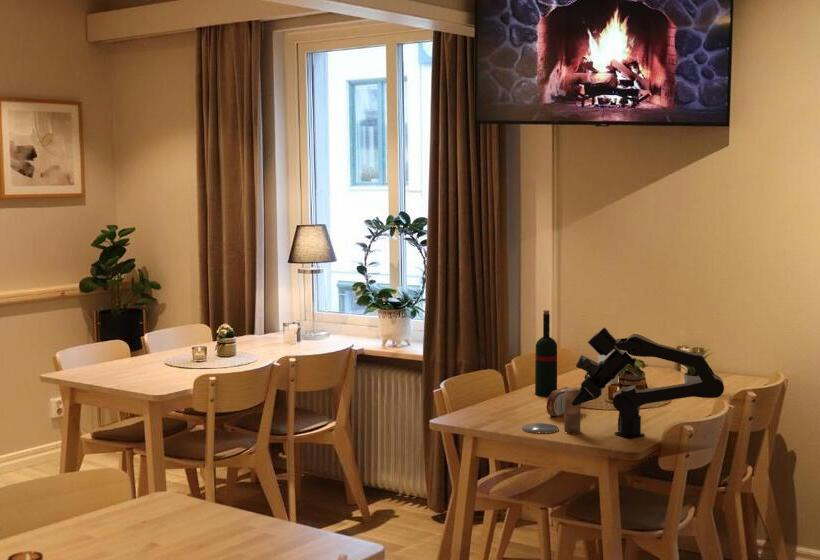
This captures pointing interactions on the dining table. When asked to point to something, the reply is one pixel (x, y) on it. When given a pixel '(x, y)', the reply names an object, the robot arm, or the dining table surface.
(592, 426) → the dining table surface
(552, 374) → the wine bottle
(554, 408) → the tin
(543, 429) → the coaster
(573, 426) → the pepper mill
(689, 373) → the house plant
